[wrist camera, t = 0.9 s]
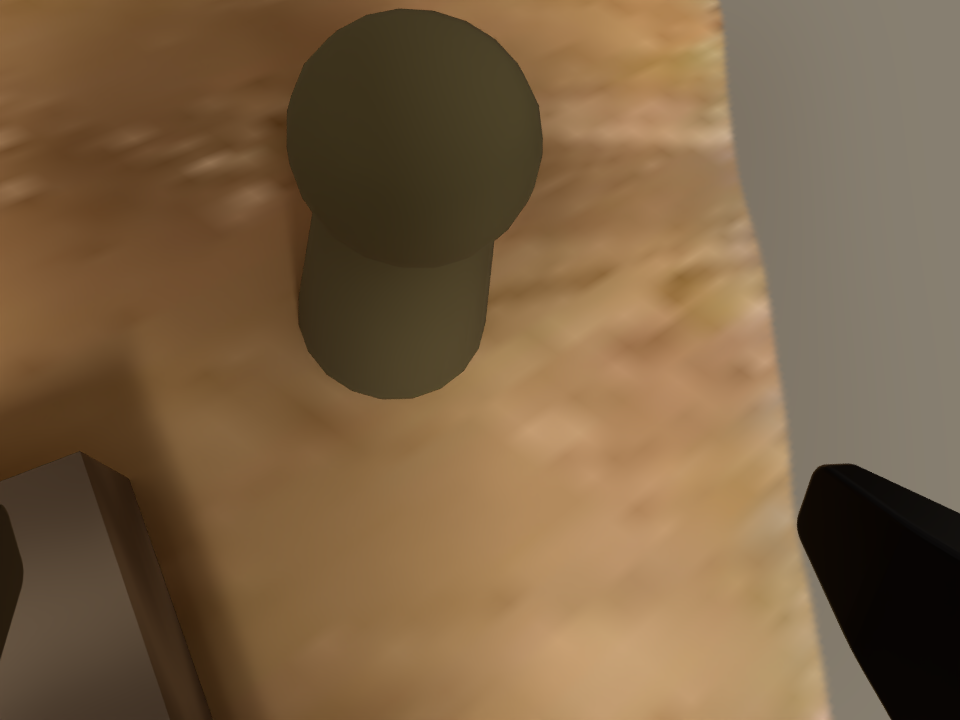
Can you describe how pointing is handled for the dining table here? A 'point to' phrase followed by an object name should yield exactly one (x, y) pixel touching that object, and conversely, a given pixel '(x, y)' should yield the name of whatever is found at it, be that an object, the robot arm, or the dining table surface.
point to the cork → (406, 194)
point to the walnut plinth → (90, 605)
